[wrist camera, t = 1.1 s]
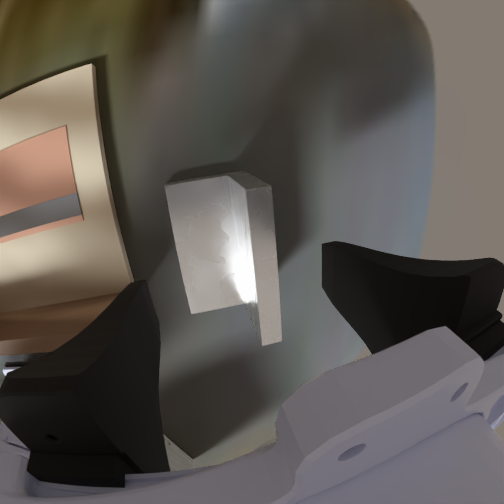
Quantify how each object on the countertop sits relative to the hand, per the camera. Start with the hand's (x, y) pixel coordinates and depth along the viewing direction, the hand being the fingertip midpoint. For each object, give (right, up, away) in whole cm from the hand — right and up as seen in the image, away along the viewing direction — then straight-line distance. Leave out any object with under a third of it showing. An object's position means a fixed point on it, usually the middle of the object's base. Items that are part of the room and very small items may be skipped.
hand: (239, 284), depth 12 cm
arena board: (-16, +4, +4) cm, 17 cm away
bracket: (-2, +2, +8) cm, 9 cm away
